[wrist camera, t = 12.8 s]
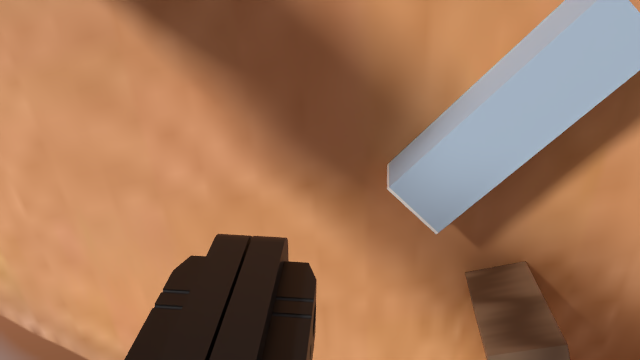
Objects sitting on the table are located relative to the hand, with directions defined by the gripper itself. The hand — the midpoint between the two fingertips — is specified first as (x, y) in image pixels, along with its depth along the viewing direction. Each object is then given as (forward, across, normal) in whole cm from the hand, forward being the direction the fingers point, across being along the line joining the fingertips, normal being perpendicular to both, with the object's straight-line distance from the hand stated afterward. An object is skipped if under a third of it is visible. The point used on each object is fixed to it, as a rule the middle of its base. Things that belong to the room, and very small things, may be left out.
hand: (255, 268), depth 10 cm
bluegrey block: (+23, -7, +11) cm, 27 cm away
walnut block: (+24, -16, +21) cm, 36 cm away
